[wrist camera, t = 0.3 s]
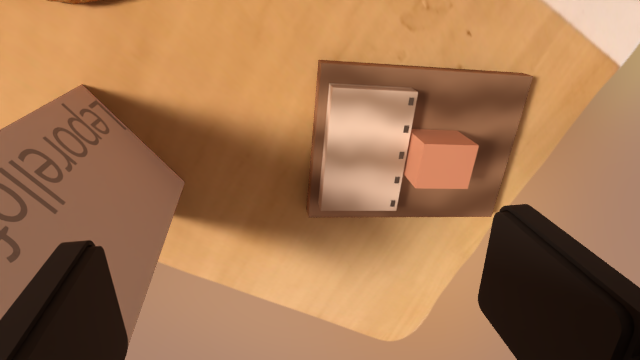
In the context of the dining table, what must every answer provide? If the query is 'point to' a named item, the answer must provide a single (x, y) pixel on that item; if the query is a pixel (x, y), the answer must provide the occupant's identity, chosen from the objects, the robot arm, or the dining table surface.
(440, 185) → the salmon upright block
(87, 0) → the pastry
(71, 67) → the dining table surface
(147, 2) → the dining table surface
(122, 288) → the brochure
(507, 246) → the robot arm
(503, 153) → the wooden base board
